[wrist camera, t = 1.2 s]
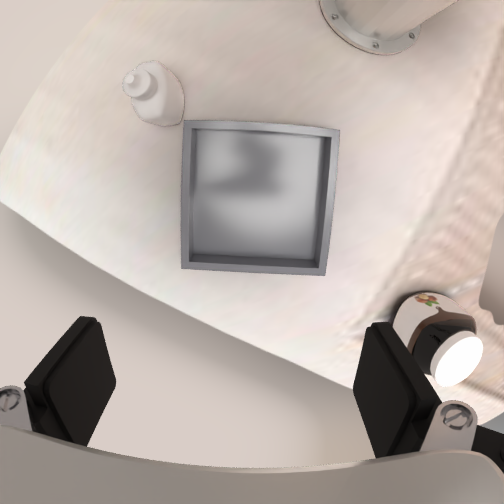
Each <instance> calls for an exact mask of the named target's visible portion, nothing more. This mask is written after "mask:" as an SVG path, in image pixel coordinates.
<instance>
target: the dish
mask: <svg viewBox="0 0 504 504" xmlns="http://www.w3.org/2000/svg"><path fill="white" fill-rule="evenodd" d="M339 139H340V130H336V129H328V128H320V127H311V126H301V125H290V124H278V123H264V122H247V121H218V120H184V128H183V149H182V180H181V269H195V270H212V271H230V272H249V273H269V274H291V275H315V276H325V273H326V266H327V259H328V251H329V243H330V235H331V227H332V218H333V209H334V199H335V189H336V178H337V166H338V153H339Z"/></svg>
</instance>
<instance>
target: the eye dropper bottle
mask: <svg viewBox="0 0 504 504" xmlns="http://www.w3.org/2000/svg"><path fill="white" fill-rule="evenodd" d="M122 85H123V86H122V87H123V91H124V92H125V94H126V95H128V96H130V97H131V101H132V105H133V107H134V110H135V112H136V114H137V115H138V117H139V118H140V119H141V120H142V121H145V122H148V123H152V124H155V125H159V126H171V125H176V124H179V122H180V121H181V119H182V115H183V111H184V93H183V90H182V87H181V84H180V82H179V80H178V79H177V78H176V77H175V76H174V75H173V74H172V73H171V72H170V71H169V70H168V69H167V68H166V67H165V66H164V65H162V64H161V63H160V62H159V61H149V62H144V63H141V64H139V65H138V66H137V67H136V69H135V70H132V71H130V72H129V73H128V74H127V75H126V76H125V77H124V80H123V83H122Z"/></svg>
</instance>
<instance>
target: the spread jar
mask: <svg viewBox="0 0 504 504" xmlns="http://www.w3.org/2000/svg"><path fill="white" fill-rule="evenodd" d="M393 328H394V330H395V331H396V333H397V334H398V336H399V337H400V339H401V340H402V342H403V343H404V344H405V346H406V347H407V349H408V350H409V352H410V353H411V355H412V356H413V358H414V359H415V361H416V362H417V364H418V365H419V367H420V368H421V370H422V371H423V373H424V374H427V375H431V376H433V378H434V379H435V381H436V382H437V383H438V384H439V385H441V386H452V385H455V384H457V383H459V382H461V381H462V380H464V379H465V378H466V377H467V376H468V375H470V374H471V373H472V371H473V370H474V369H475V368H476V366H477V365H478V363H479V361H480V359H481V356H482V352H483V345H482V342H481V340H480V339H479V338H478V337H477V336H476V332H477V327H476V322H475V320H474V318H473V317H472V316H471V315H470V314H469V313H468V312H467V311H466V310H464V309H463V308H462V307H461V306H460V305H459V304H457V303H456V302H455V301H453V300H452V299H450V298H448V297H446V296H443V295H440V294H437V293H433V292H419V293H416V294H413V295H411V296H409V297H408V298H407V299H405V300H404V301H403V302H402V304H401V305H400V307H399V309H398V311H397V313H396V315H395V318H394V322H393Z"/></svg>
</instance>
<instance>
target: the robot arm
mask: <svg viewBox="0 0 504 504" xmlns="http://www.w3.org/2000/svg"><path fill="white" fill-rule="evenodd" d="M456 1H458V0H320V6H321V10H322V12H323V15H324V17H325V19H326V20H327V22H328V23H329V25H330V26H331V28H332V29H333V30H334V31H335V32H336V33H337V34H338V35H339V36H340V37H342V38H343V39H344V40H345V41H347V42H348V43H350V44H352V45H353V46H355V47H357V48H359V49H362V50H364V51H366V52H370V53H374V54H381V55H391V54H396V53H400V52H402V51H404V50H406V49H408V48H409V47H410V46H412V45H413V44H414V43H415V41H416V40H417V38H418V36H419V33H420V28H421V23H423V22H424V21H426V20H427V19H429V18H430V17H432V16H433V15H435V14H437V13H438V12H440V11H441V10H443V9H445V8H446V7H448V6H450V5H451V4H453V3H455V2H456ZM332 18H334V19H335V20H334V19H332ZM373 46H374V47H375V48H374V47H373ZM24 384H25V386H26V388H25V389H24V391H23V390H22V389H21V388H20V387H17V386H5V387H2V388H0V504H504V434H502V433H499V432H496V431H493V430H490V429H487V428H485V427H482V426H479V425H477V415H476V412H475V411H474V410H473V408H472V407H470V406H469V405H468V404H466V403H464V402H461V401H456V400H450V401H446V402H443V403H442V401H441V400H440V398H439V397H438V395H437V393H436V392H435V390H434V389H433V387H432V385H431V384H430V382H429V381H428V379H427V378H426V376H425V374H424V373H423V371H422V370H421V368H420V367H419V365H418V364H417V362H416V361H415V359H414V358H413V356H412V355H411V353H410V352H409V350H408V349H407V347H406V346H405V344H404V343H403V342H402V340H401V339H400V337H399V336H398V334H397V333H396V331H395V330H394V328H393V327H392V326H391V324H390V323H389V322H375V323H372V325H371V327H367V329H366V333H365V338H364V342H363V347H362V351H361V356H360V360H359V364H358V368H357V372H356V376H355V380H354V385H353V393H354V396H355V399H356V402H357V405H358V407H359V410H360V413H361V416H362V419H363V422H364V425H365V428H366V431H367V434H368V436H369V439H370V442H371V445H372V448H373V451H374V454H375V457H376V459H369V460H363V461H355V462H347V463H338V464H329V465H319V466H306V467H286V468H229V467H211V466H198V465H187V464H178V463H169V462H162V461H155V460H149V459H142V458H137V457H131V456H125V455H121V454H116V453H111V452H106V451H102V450H98V449H94V448H90V447H87V445H88V443H89V441H90V438H91V436H92V434H93V432H94V430H95V428H96V426H97V424H98V422H99V419H100V417H101V415H102V413H103V411H104V409H105V407H106V405H107V403H108V401H109V399H110V397H111V395H112V393H113V391H114V389H115V386H116V378H115V375H114V371H113V368H112V365H111V361H110V357H109V354H108V350H107V346H106V342H105V339H104V334H103V330H102V326H101V324H100V323H99V322H97V320H96V318H94V317H85V316H80V317H79V318H78V319H77V320H76V321H75V322H74V324H73V325H72V326H71V327H70V328H69V329H68V330H67V331H66V333H65V334H64V335H63V336H62V337H61V338H60V339H59V341H58V342H57V343H56V344H55V345H54V346H53V348H52V349H51V350H50V351H49V352H48V354H47V355H46V356H45V357H44V358H43V359H42V361H41V362H40V363H39V364H38V365H37V367H36V368H35V369H34V370H33V372H32V373H31V374H30V375H29V377H28V378H27V379H26V380H25V382H24Z"/></svg>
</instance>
